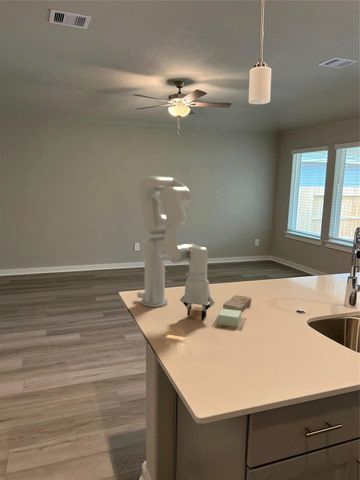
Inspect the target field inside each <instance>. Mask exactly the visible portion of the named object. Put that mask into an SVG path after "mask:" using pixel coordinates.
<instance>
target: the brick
mask: <svg viewBox="0 0 360 480" xmlns="http://www.w3.org/2000/svg"><path fill="white" fill-rule="evenodd" d="M251 304H252V297H250V296H247V295H245V296H244V295H237V294H236V295H233V296H232V298H230V299H228V300H227V301H225V302H224V303H223V305H222V309H230V310H238V311H241V313H242V312H243V311H244V310H246V309H249V308H250V307H251Z"/></svg>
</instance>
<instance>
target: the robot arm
mask: <svg viewBox="0 0 360 480" xmlns="http://www.w3.org/2000/svg"><path fill="white" fill-rule="evenodd" d="M137 194H138V199H139V202H140V205H141V214H142V225H143V230H144V233H145V234H147V235H149V236H152V235H153V236H155V235H161V236H158V237H157V236H156V237H150V238H147V239H146V240H145V241H144V242H143V244H142V254H143V261H144V292H137V293H136V295H137V296H136V297H137V298H141V300H140V301H141V302H140V303H141V305H143V306H144V307H148V308H149V307H150V308H158V307H164V306H166V305H167V304H168V302H169V301H168V299H167V298H166V297H165V290H166V289H165V287H166V286H165V285H166V284H165V280H166V279H165V278H166V273H165V272H166V271H165V270H166V267H165V264H164V262H163V260H162V258H164V257H167V258H168V260H169V261H170V262H171V263H172V264H180V263H185V262H188V272H185V277H186V276H187V278H186V281H185V287H184V295H183V296H181V297H180V300H179V301H180V302H181V303H182V304H183V305H184V306H185V307H186V309H187V316H188V317H187V318H188V319H189V313H190V309H191V308H192V307H193V306H192V305H199V306H201V307H202V308H203V311H202V320H201V321H204V320H205V318H207V310H208V309H210V308H211V307H213V306H214V305H215V303H216V302H215V301H214V300H213V298H212V297H211V292H210V291H211V290H210V289H211V288H210V282H209V279H208V251H209V250H208V248H207V247H206V246H200V245H199V246H198V245H197V244H194V243H183V244H179V243H178V234H177V229H178V228H179V227H180V226H182V225H184V223H186V222H187V220H188V219H187V215H186V210H185V207H184V206H187V205H189V204H190V202H191V201H192V193H191V191H190V189H189V188H188V187H187V186H186V185H184V184H183V183H181V182H180V181H178V180H177V179H176V178H174V177H173V176H163V175H148V176H144V177H143V178H141V180H139V183H138V188H137ZM155 195H156V196H160V200H161V203H162V207H163V211H164V213H161V206H160V203H159V201H158V198H157V197H156V196H155Z"/></svg>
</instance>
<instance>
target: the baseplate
mask: <svg viewBox="0 0 360 480" xmlns="http://www.w3.org/2000/svg"><path fill="white" fill-rule="evenodd" d="M246 321H247V318H246V317H241V321H240V323H239V326H238V327H233V326H226V325H219V324H218V316H217V317H216V318H215V320H214V321H213V323H212V325H211V327H214V328H220V329H227V330H235V331H241V332H242V331H243V328H244V326H245V323H246Z"/></svg>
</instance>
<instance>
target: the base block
mask: <svg viewBox="0 0 360 480" xmlns="http://www.w3.org/2000/svg"><path fill="white" fill-rule="evenodd" d="M217 317H218V324H219V325H226V326H233V327H238V326H239V323H240V321H241V318H242V312H241V311H238V310H230V309H223V308H222V309H221V310H220V312H219V313H218V314H217Z"/></svg>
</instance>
